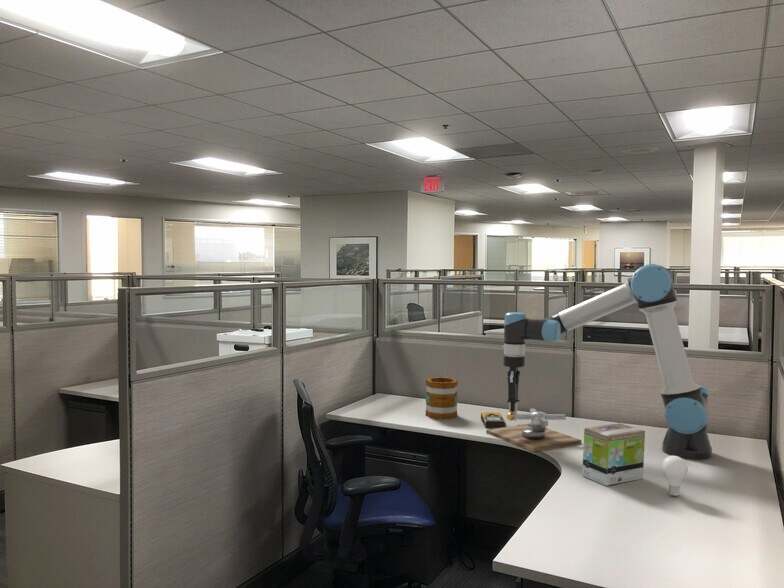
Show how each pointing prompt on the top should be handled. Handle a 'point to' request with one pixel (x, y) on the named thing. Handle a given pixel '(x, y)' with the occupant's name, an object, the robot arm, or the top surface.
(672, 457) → the lightbulb
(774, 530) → the top surface
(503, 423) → the electronic device
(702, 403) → the robot arm
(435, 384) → the mug
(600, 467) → the tea box
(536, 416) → the capstan
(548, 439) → the wooden board
